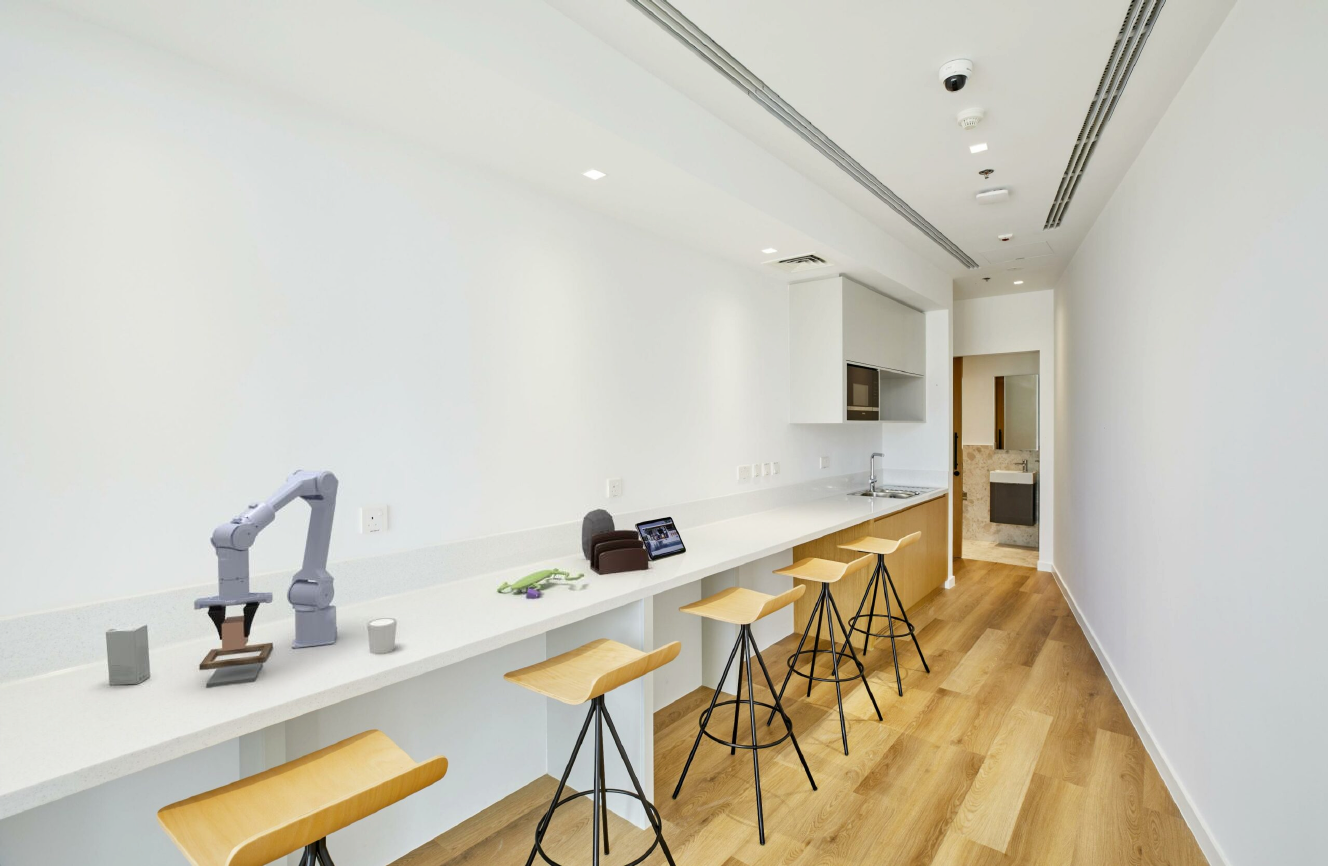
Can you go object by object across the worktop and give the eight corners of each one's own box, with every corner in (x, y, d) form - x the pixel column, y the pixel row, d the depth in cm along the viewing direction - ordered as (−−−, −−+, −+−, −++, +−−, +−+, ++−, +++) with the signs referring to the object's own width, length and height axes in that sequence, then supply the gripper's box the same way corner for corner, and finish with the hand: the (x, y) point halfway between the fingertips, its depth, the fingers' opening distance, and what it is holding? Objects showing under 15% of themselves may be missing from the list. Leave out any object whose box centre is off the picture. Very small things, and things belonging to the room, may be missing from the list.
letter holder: (589, 569, 245) (589, 532, 245) (637, 564, 254) (638, 528, 254) (599, 575, 236) (599, 537, 236) (648, 569, 245) (649, 532, 245)
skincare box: (151, 676, 146) (149, 623, 145) (137, 685, 141) (135, 630, 141) (121, 677, 145) (120, 623, 145) (106, 686, 141) (104, 630, 140)
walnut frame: (272, 647, 164) (272, 642, 164) (265, 662, 154) (264, 657, 154) (211, 654, 159) (211, 649, 159) (199, 669, 150) (199, 664, 150)
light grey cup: (402, 647, 164) (402, 620, 164) (378, 656, 158) (378, 628, 158) (385, 642, 168) (385, 615, 167) (361, 651, 162) (360, 623, 162)
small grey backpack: (608, 554, 270) (608, 506, 269) (620, 557, 263) (620, 508, 262) (577, 559, 260) (577, 509, 259) (589, 563, 254) (589, 512, 253)
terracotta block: (248, 640, 149) (247, 615, 149) (243, 648, 145) (243, 621, 144) (227, 643, 148) (227, 617, 148) (222, 650, 143) (221, 623, 143)
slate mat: (263, 666, 152) (262, 662, 152) (254, 681, 144) (254, 677, 144) (217, 671, 149) (217, 668, 149) (206, 687, 140) (206, 683, 140)
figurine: (590, 588, 220) (590, 572, 220) (519, 604, 202) (519, 586, 202) (560, 577, 234) (560, 562, 234) (491, 591, 216) (491, 574, 216)
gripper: (189, 584, 139) (190, 647, 140) (268, 578, 144) (269, 639, 145) (199, 576, 146) (200, 636, 146) (273, 571, 151) (274, 628, 151)
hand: (235, 637), depth 146 cm, fingers closed on terracotta block, 4 cm apart
